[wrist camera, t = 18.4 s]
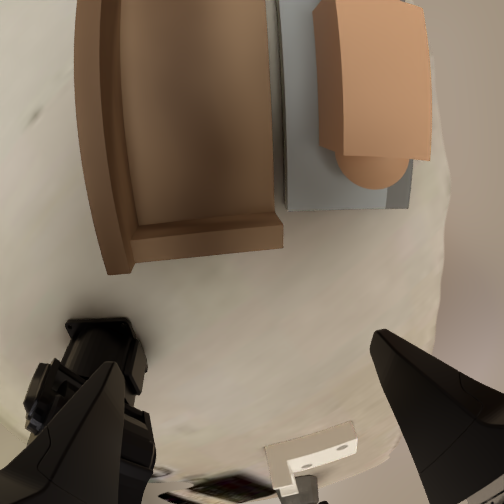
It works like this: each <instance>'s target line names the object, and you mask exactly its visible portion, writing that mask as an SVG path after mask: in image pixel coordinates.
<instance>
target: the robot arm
mask: <svg viewBox="0 0 504 504" xmlns="http://www.w3.org/2000/svg"><path fill="white" fill-rule="evenodd" d="M123 323H124V324H126V325H124V324H123ZM70 325H71V326H70ZM65 327H66V329H67V331H68V333H69V335H70V337H71V341H70V343H69V345H68V347H67V349H66V351H65V354H64V356H63V358H62V360H61V363H60V361H59V360H57V359H56V358H54V359H53V361H52V362H51V364H48V363H47V364H45V363H39V365H38V367H37V369H36V371H35V373H34V376H33V378H32V380H31V383H30V385H29V388H28V391H27V393H26V396H25V399H24V402H23V404H24V407H25V410H26V424H25V429H27V430H28V431H30V432H31V434H30V437H29V440H28V443H27V447H26V448H25V449H24V450H23V451H22V452H21V453H20V454H19V455H18V456H17V457H15V458H14V459H13V460H12V461H11V462H10V463H9V464H8V465H7V466H6V467H4V468H3V469H1V470H0V504H141V501H142V497H143V493H144V490H145V487H146V485H147V482H148V481H149V479H150V477H151V476H152V474H153V468H154V465H155V461H156V448H155V443H154V438H153V432H152V427H151V421H150V415H149V413H147V412H145V411H140V410H138V409H136V408H135V407H134V402H135V395H140V394H141V392H142V386H143V380H144V374H145V373H146V372H147V370H148V366H147V364H146V362H147V359H146V356H145V354H144V352H143V349H142V346H141V344H140V341H139V340H138V339H136V337H135V334H134V331H133V329H132V326H131V323H130V321H129V320H128V319H126V318H112V319H86V320H68V321H67V322H66V324H65ZM370 354H371V357H372V359H373V362H374V365H375V368H376V371H377V374H378V377H379V380H380V383H381V386H382V388H383V391H384V393H385V395H386V397H387V399H388V402H389V404H390V406H391V408H392V411H393V413H394V415H395V417H396V420H397V422H398V424H399V427H400V429H401V431H402V434H403V436H404V438H405V440H406V443H407V445H408V447H409V450H410V453H411V455H412V458H413V460H414V463H415V465H416V468H417V470H418V473H419V476H420V478H421V481H422V484H423V486H424V489H425V492H426V494H427V497H428V500H429V503H430V504H458V503H460V502H461V501H463V500H465V499H467V501H468V504H504V393H501V392H499V391H497V390H495V389H492V388H490V387H488V386H486V385H484V384H482V383H480V382H478V381H476V380H474V379H472V378H470V377H468V376H467V375H465V374H463V373H461V372H458V370H456V369H454V368H453V367H451V366H449V365H447V364H445V363H444V362H442V361H441V360H439V359H437V358H435V357H434V356H432V355H430V354H428V353H427V352H425V351H423V350H422V349H420V348H418V347H416V346H415V345H413V344H411V343H409V342H408V341H406V340H404V339H403V338H401V337H399V336H397V335H396V334H394V333H392V332H390V331H389V330H387V329H380V330H376V331H375V332H374V334H373V338H372V341H371V345H370Z"/></svg>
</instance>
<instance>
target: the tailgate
mask: <svg viewBox="0 0 504 504" xmlns="http://www.w3.org/2000/svg"><path fill="white" fill-rule="evenodd" d="M320 1H321V0H276V6H277V19H278V33H279V48H280V65H281V85H282V107H283V136H284V177H285V207H286V209H287V211H288V212H290V211H314V210H345V209H408V207H409V199H410V191H411V181H412V169H413V159H409V164H408V167H407V169H406V172H405V173H404V175H403V176H402V177H401V179H400V180H399V181H398V182H396V183H395V184H393V185H392V186H390V187H387V188H384V189H378V190H372V189H366V188H363V187H360V186H358V185H356V184H354V183H353V182H351V181H350V180H349V179H348V178H347V177H346V176H345V175H344V174H343V173H342V171H341V169H340V168H339V166H338V163H337V161H336V157H335V152H334V151H331V150H329V149H326V148H324V147H321V146H319V113H318V85H317V66H316V50H315V37H314V25H313V15H312V11H313V10H314V9H315V8H316V6H317V5H318V4H319V2H320ZM400 1H403V2H405V0H400Z"/></svg>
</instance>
